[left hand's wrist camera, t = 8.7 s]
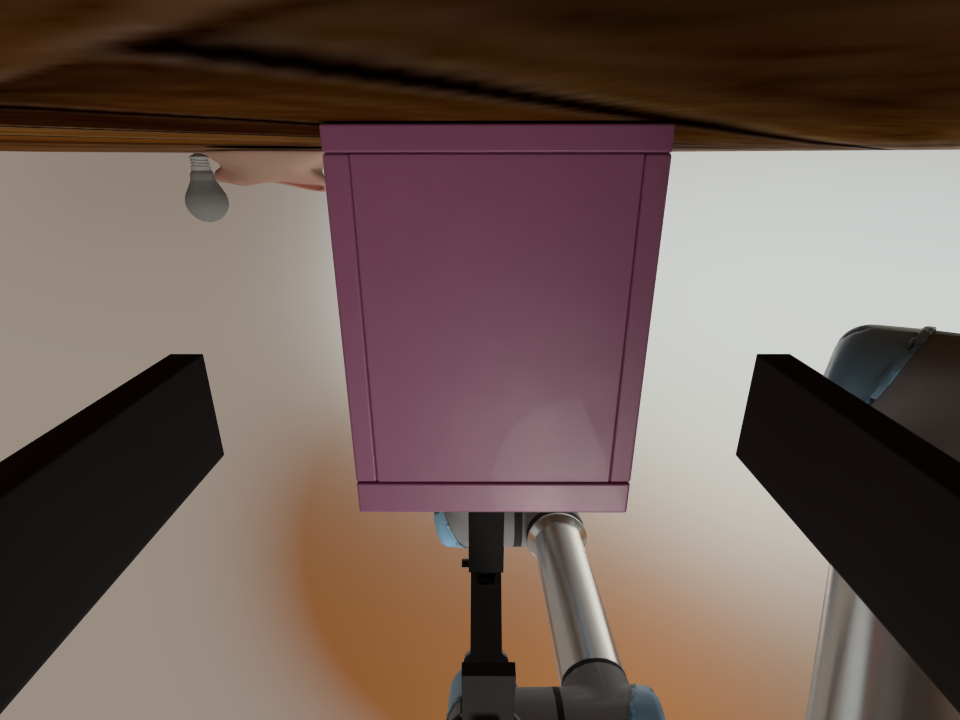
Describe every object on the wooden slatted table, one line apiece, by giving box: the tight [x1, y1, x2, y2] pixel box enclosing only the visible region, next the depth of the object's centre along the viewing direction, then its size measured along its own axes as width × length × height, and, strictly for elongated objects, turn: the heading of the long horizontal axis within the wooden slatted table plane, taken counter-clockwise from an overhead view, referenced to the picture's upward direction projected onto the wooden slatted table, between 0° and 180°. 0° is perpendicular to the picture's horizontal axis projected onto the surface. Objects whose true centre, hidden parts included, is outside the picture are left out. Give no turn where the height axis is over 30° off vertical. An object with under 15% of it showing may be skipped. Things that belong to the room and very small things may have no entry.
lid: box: [357, 480, 629, 512], centre depth 26 cm, size 14×9×9 cm
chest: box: [319, 123, 675, 482], centre depth 22 cm, size 13×9×11 cm
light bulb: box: [185, 153, 229, 222], centre depth 79 cm, size 6×6×10 cm
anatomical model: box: [203, 149, 326, 192], centre depth 48 cm, size 13×4×12 cm
